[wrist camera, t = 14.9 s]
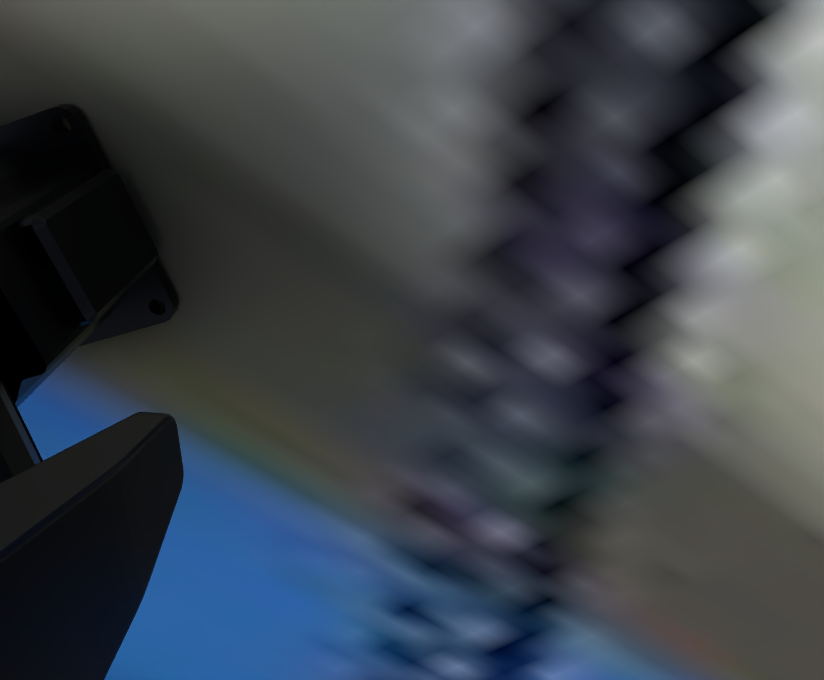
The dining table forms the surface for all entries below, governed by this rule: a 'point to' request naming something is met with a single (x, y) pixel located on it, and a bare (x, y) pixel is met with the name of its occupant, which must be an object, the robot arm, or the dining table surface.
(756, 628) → the dining table surface
